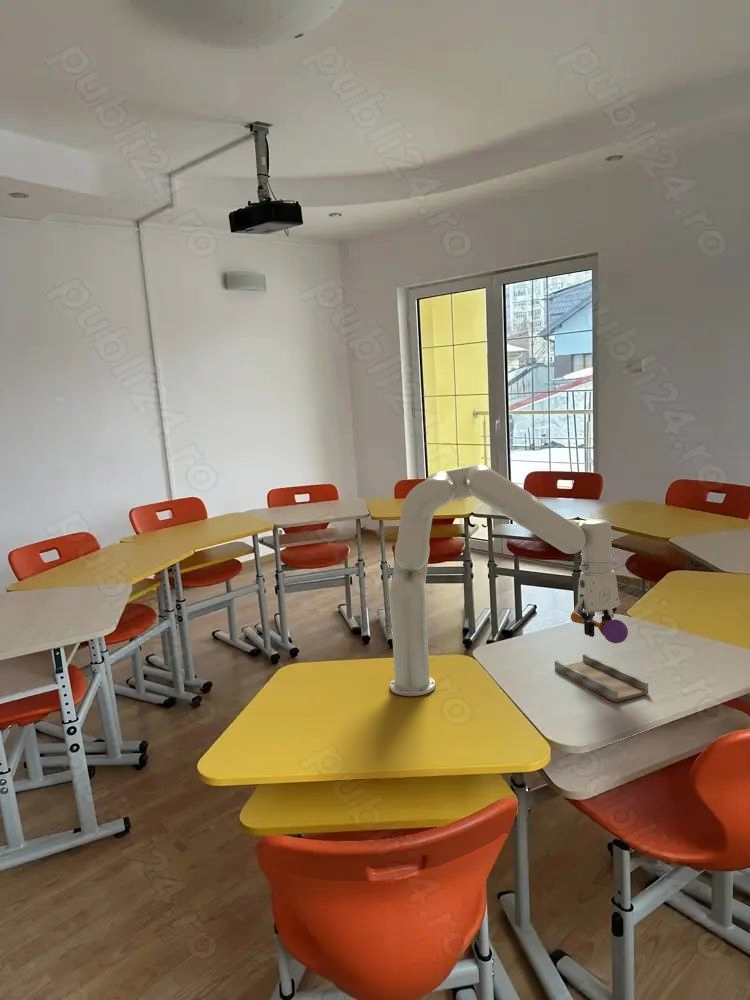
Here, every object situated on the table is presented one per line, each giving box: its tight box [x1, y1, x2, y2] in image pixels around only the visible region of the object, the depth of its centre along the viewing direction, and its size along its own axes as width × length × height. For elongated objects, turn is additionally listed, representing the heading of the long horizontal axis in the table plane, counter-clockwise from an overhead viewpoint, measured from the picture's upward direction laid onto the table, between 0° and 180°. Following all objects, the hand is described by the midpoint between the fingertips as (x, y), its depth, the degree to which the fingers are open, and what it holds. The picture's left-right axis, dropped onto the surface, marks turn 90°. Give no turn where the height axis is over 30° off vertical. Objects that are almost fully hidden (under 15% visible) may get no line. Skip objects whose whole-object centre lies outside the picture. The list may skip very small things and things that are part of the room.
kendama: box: [570, 611, 629, 644], centre depth 177 cm, size 6×6×20 cm
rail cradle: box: [554, 653, 649, 703], centre depth 179 cm, size 24×11×3 cm, turn 22°
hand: (598, 632), depth 177 cm, fingers closed on kendama, 5 cm apart
